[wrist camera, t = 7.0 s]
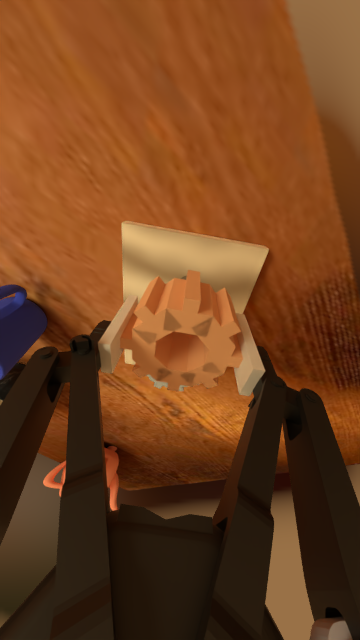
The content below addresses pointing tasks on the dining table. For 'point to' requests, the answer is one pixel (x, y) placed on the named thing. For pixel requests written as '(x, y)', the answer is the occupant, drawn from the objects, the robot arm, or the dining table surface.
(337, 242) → the dining table surface
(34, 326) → the mug
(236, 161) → the dining table surface
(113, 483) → the teapot
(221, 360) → the gear
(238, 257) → the board
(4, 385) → the bowl
